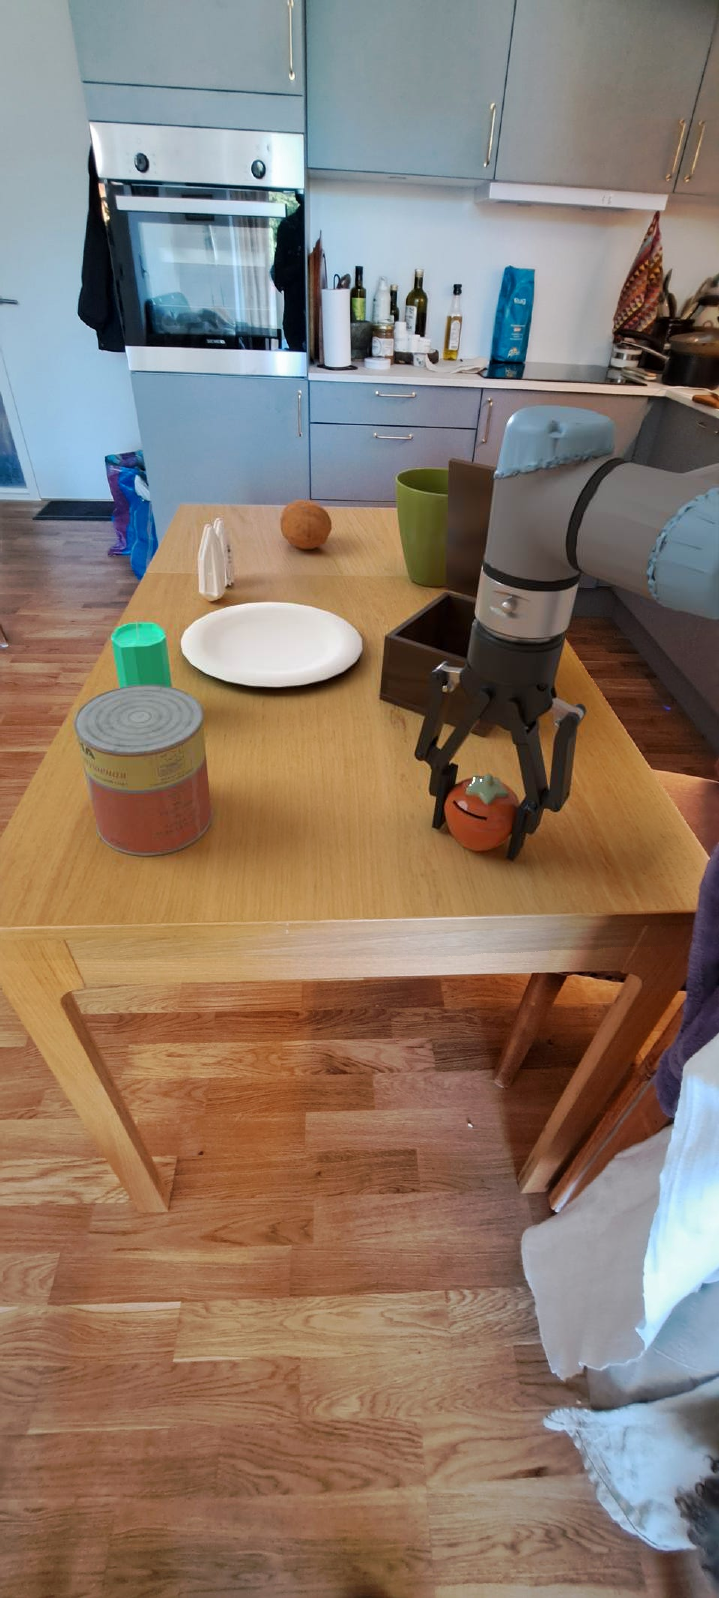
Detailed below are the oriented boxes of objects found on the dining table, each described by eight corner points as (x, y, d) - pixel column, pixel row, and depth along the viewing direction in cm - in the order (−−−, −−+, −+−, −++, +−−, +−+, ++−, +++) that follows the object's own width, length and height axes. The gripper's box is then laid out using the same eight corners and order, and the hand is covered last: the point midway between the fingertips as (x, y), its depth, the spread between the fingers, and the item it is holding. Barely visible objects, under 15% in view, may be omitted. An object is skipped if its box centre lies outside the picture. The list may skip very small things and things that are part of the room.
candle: (145, 696, 91) (131, 605, 84) (185, 709, 89) (175, 617, 82) (113, 718, 87) (95, 625, 79) (154, 733, 85) (140, 638, 78)
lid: (570, 486, 80) (601, 447, 85) (448, 460, 86) (484, 425, 91) (548, 619, 94) (576, 578, 99) (445, 589, 99) (476, 552, 104)
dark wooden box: (485, 737, 88) (497, 672, 83) (379, 699, 94) (384, 635, 88) (534, 681, 100) (549, 620, 94) (437, 649, 105) (445, 590, 100)
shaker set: (222, 608, 112) (218, 535, 105) (195, 606, 112) (189, 533, 105) (237, 577, 121) (234, 509, 114) (212, 575, 121) (207, 507, 114)
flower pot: (408, 555, 133) (417, 461, 123) (486, 573, 129) (502, 477, 119) (373, 583, 123) (379, 483, 113) (456, 603, 118) (470, 501, 108)
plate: (391, 679, 98) (392, 668, 97) (205, 710, 90) (204, 698, 88) (325, 603, 115) (325, 592, 114) (165, 622, 107) (163, 611, 106)
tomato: (424, 839, 73) (434, 775, 68) (466, 805, 78) (477, 742, 73) (487, 875, 69) (502, 810, 64) (527, 837, 74) (543, 774, 69)
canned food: (108, 782, 78) (88, 683, 70) (216, 783, 79) (208, 685, 71) (85, 856, 69) (59, 752, 61) (207, 855, 70) (196, 753, 62)
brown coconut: (329, 536, 139) (330, 494, 134) (333, 558, 130) (334, 515, 126) (280, 534, 138) (280, 493, 133) (280, 557, 129) (280, 513, 125)
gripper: (387, 606, 60) (371, 819, 75) (632, 680, 53) (561, 901, 67) (429, 578, 65) (406, 782, 80) (657, 641, 58) (586, 854, 72)
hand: (477, 836), depth 73 cm, fingers closed on tomato, 7 cm apart
